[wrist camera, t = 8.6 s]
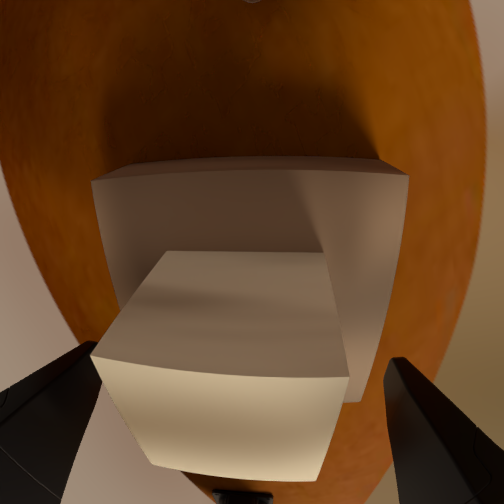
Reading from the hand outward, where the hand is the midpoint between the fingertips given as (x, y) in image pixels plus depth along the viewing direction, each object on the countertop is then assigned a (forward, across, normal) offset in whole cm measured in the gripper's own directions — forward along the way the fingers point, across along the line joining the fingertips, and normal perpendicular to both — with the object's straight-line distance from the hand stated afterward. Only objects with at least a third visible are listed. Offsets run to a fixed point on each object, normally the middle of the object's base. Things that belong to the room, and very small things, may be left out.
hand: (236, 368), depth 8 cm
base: (+6, 0, 0) cm, 6 cm away
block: (+2, 0, 0) cm, 2 cm away
